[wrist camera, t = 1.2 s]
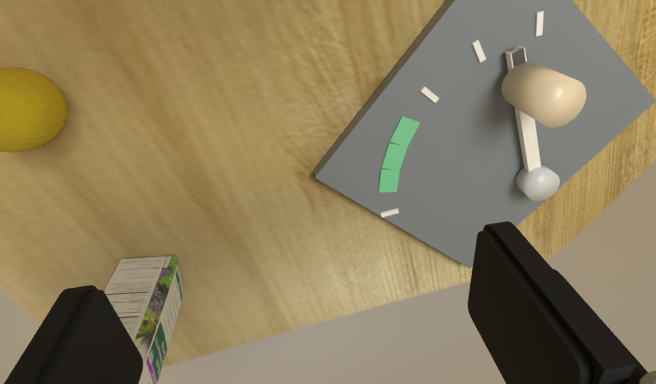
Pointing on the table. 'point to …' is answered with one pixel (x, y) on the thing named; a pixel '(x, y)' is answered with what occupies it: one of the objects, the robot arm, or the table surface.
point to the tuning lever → (538, 115)
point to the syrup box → (147, 306)
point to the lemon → (29, 109)
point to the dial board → (476, 120)
